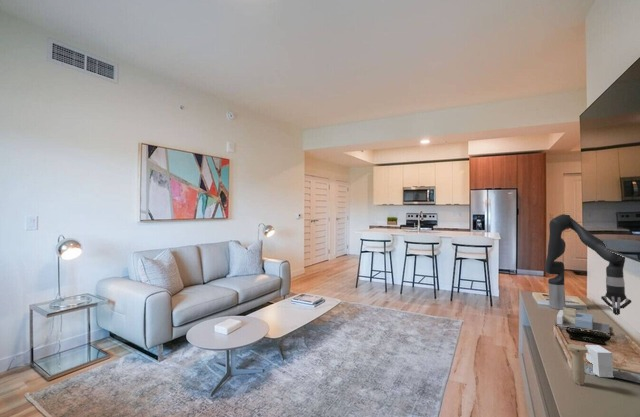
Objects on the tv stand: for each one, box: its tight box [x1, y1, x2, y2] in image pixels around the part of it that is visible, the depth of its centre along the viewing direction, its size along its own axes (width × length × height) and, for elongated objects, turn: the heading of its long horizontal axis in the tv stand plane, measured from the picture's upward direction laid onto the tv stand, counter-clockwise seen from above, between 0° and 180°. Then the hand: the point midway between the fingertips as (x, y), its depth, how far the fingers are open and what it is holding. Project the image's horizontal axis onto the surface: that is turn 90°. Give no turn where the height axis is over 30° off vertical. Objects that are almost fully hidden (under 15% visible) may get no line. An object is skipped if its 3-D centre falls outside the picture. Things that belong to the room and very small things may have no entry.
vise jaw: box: [575, 311, 594, 329], centre depth 181 cm, size 16×8×4 cm, turn 136°
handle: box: [566, 343, 588, 386], centre depth 125 cm, size 5×6×15 cm
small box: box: [584, 344, 615, 378], centre depth 132 cm, size 8×6×10 cm
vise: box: [554, 309, 610, 334], centre depth 182 cm, size 16×24×6 cm, turn 46°
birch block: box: [562, 307, 577, 324], centre depth 186 cm, size 4×6×8 cm, turn 46°
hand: (616, 314), depth 172 cm, fingers closed
